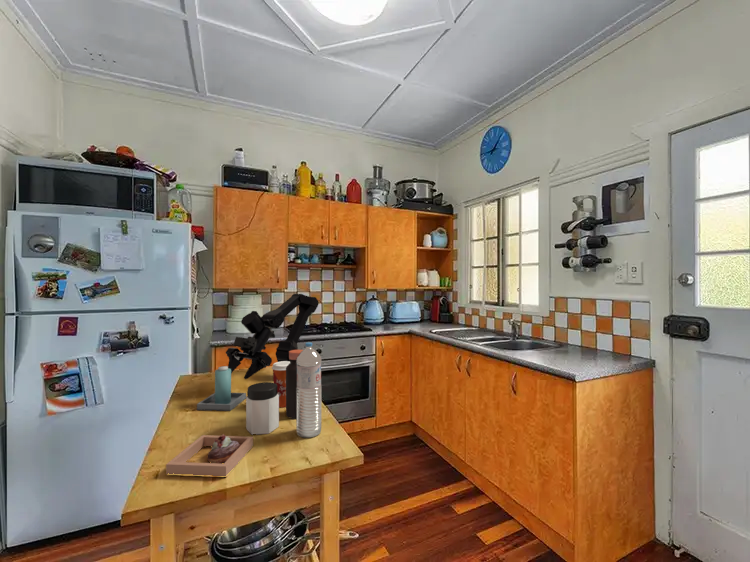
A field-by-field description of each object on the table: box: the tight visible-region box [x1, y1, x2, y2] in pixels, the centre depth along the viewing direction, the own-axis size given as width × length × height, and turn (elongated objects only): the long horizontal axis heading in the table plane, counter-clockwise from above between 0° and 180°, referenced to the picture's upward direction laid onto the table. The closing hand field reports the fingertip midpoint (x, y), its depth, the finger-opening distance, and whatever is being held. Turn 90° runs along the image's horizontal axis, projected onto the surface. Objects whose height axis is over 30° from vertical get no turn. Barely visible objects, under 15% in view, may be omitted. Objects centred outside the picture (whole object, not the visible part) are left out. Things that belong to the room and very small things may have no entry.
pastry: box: [207, 433, 241, 464], centre depth 80 cm, size 8×8×5 cm
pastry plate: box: [165, 434, 254, 476], centre depth 78 cm, size 13×13×2 cm
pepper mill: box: [214, 365, 232, 404], centre depth 113 cm, size 5×5×12 cm
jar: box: [245, 381, 280, 436], centre depth 95 cm, size 9×8×12 cm
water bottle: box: [295, 341, 322, 439], centre depth 92 cm, size 7×7×25 cm
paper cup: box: [271, 361, 290, 409], centre depth 113 cm, size 8×8×14 cm
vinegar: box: [285, 349, 304, 420], centre depth 104 cm, size 7×7×20 cm
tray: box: [196, 392, 247, 412], centre depth 113 cm, size 11×11×2 cm
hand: (235, 377), depth 118 cm, fingers open, 9 cm apart
